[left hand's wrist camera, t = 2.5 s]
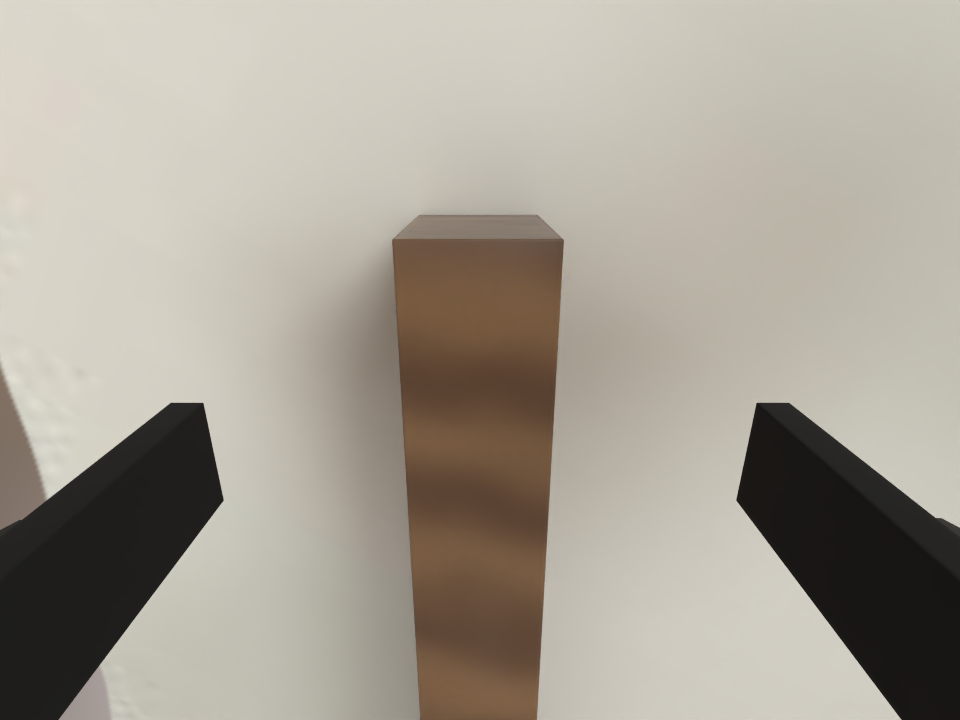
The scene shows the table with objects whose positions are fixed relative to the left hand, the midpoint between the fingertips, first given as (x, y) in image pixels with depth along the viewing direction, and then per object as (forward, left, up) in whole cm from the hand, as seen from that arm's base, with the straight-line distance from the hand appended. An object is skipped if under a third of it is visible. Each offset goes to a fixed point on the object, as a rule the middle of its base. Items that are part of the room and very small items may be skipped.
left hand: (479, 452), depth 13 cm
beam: (-16, +18, -14) cm, 28 cm away
